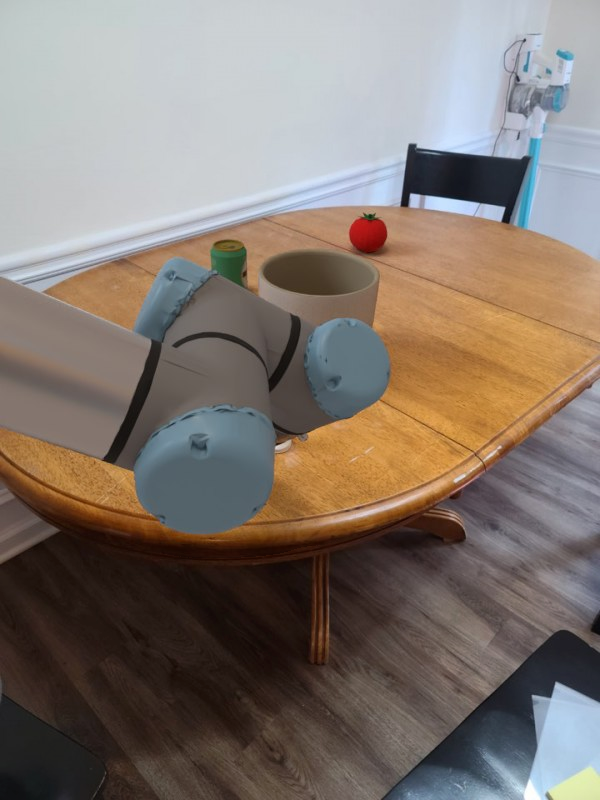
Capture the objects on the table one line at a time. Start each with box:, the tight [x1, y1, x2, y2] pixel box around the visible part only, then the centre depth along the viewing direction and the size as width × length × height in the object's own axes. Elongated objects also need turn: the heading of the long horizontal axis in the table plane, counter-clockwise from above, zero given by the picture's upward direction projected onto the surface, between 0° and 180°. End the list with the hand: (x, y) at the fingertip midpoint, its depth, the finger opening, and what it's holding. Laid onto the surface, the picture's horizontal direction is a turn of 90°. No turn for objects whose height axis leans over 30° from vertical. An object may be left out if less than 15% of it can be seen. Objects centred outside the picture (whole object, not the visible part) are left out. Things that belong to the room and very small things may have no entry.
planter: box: [257, 248, 381, 329], centre depth 102 cm, size 21×21×19 cm
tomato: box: [348, 212, 388, 253], centre depth 153 cm, size 10×10×10 cm
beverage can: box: [209, 238, 249, 291], centre depth 127 cm, size 8×8×12 cm
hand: (197, 447), depth 74 cm, fingers open, 13 cm apart
